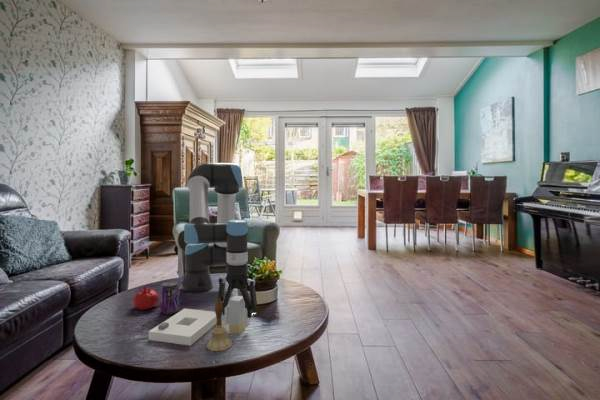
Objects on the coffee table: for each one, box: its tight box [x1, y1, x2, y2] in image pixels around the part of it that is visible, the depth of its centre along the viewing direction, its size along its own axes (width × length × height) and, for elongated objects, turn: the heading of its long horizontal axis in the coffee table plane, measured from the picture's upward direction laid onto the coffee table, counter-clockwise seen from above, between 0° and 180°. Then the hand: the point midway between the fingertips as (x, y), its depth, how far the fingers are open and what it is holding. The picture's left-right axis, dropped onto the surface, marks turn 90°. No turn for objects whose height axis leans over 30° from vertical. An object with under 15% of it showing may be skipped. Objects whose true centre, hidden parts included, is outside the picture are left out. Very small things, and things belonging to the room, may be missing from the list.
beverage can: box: [160, 280, 180, 315], centre depth 146 cm, size 7×7×12 cm
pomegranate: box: [132, 286, 160, 311], centre depth 151 cm, size 10×10×9 cm
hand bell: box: [206, 297, 233, 352], centre depth 117 cm, size 8×8×16 cm
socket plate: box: [148, 307, 217, 347], centre depth 129 cm, size 22×16×4 cm
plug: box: [228, 295, 246, 335], centre depth 129 cm, size 5×4×12 cm
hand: (237, 324), depth 129 cm, fingers open, 7 cm apart
